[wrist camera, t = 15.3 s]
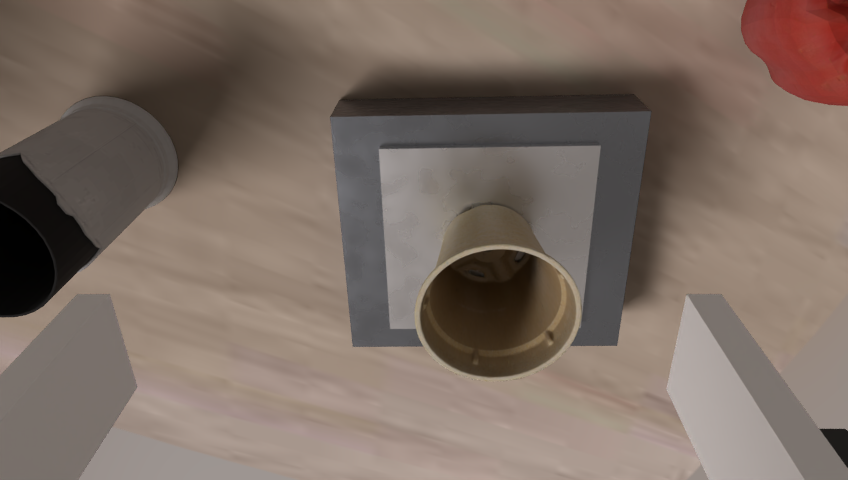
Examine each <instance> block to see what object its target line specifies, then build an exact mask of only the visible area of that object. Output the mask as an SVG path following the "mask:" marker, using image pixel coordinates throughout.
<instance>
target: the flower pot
mask: <svg viewBox="0 0 848 480" xmlns="http://www.w3.org/2000/svg"><path fill="white" fill-rule="evenodd" d="M487 250H488V251H487ZM519 251H522V252H526V253H525V254H524V255H523V257H522V259H521V260H520V261H519V262H517V261H515V258H516V256H517V253H518V252H519ZM469 270H474V271H477V270H479V271H478V272H481V273H483V274H484V276H483V277H482V276H477V275H473V274H471V273H470V272H469ZM581 318H582V302H581V297H580V293H579V290H578V288H577V285H576V283H575V281H574V280H573V278H572V276H571V275H570V274H569V272H568V271H567V270H566V269H565V268H564V267H563V266H562V265H561V264H560V263H559V262H558V261H556V260H555V259H554V258H552V257H551V256H549V255H548V254H546V253H545V252H544V250H543V248H542V247H541V245H540V243H539V242H538V240H537V239H536V237H535V235H534V233H533V231H532V229H531V227H530V225H529V224H528V223H527V221H526V220H525V219H524V218H523V217H522V216H521V215H520V214H518V213H517V212H515V211H513V210H511V209H509V208H507V207H504V206H499V205H480V206H477V207H475V208H473V209H470V210H468V211H466V212H464V213H462V214H460V215H458V216H457V217H456V218H455V219H454V220H453V221H452V222H451V223H450V225H449V226H448V228H447V230H446V232H445V234H444V237H443V242H442V246H441V250H440V254H439V257H438V261H437V264H436V267H435V269H434V270H433V271H432V272H431V273H430V274H429V275H428V277H427V278H426V279H425V281H424V283H423V284H422V286H421V289H420V291H419V293H418V296H417V299H416V305H415V326H416V330H417V334H418V336H419V339H420V341H421V343H422V345H423V346H424V348H425V349H426V351H427V352H428V353H429V354H430V356H431V357H432V358H433V359H434V360H435V361H437V362H438V363H439V364H440V365H441V366H443V367H444V368H446V369H447V370H449V371H451V372H453V373H455V374H458V375H460V376H462V377H466V378H470V379H472V380H473V379H474V380H479V381H497V382H498V381H508V380H515V379H519V378H523V377H526V376H530V375H532V374H535V373H537V372H539V371H541V370H542V369H544V368H546V367H548V366H549V365H551V364H552V363H553V362H555V361H556V360H558V359H559V358H560V357H561V356H562V355H563V353H565V352H566V350H567V349H568V348H569V347H570V345H571V344H572V342H573V341H574V339H575V337H576V335H577V332H578V330H579V327H580V323H581Z"/></svg>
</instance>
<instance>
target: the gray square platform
mask: <svg viewBox="0 0 848 480" xmlns="http://www.w3.org/2000/svg"><path fill="white" fill-rule="evenodd" d="M650 117H651V111H650V110H649V109H648V108H647V107H646V106H645V105H644V104H643V103H642V102H641V101H640V100H639V99H638V98H637V97H636V96H635V95H634V94H630V95H576V96H523V97H469V98H415V99H361V100H339V102H338V104H337V105H336V107H335V109H334V111H333V113H332V115H331V116H330V120H331V130H332V140H333V150H334V160H335V171H336V181H337V191H338V201H339V211H340V221H341V232H342V242H343V252H344V262H345V272H346V282H347V292H348V303H349V313H350V323H351V333H352V343H353V347H388V346H423V345H422V343H421V341H420V339H419V336H418V334H417V330H416V326H415V305H416V299H417V296H418V293H419V291H420V289H421V286H422V284H423V283H424V281H425V279H426V278H427V277H428V275H429V274H430V273H431V272H432V271H433V270H434V269H435V267H436V264H437V261H438V257H439V254H440V250H441V246H442V242H443V237H444V234H445V232H446V230H447V228H448V226H449V225H450V223H451V222H452V221H453V220H454V219H455V218H456V217H457V216H458V215H460V214H462V213H464V212H466V211H468V210H470V209H473V208H475V207H477V206H480V205H499V206H504V207H507V208H509V209H511V210H513V211H515V212H517V213H518V214H520V215H521V216H522V217H523V218H524V219H525V220H526V221H527V223H528V224H529V225H530V227H531V229H532V231H533V233H534V235H535V237H536V239H537V240H538V242H539V243H540V245H541V247H542V248H543V250H544V252H545V253H546V254H548V255H549V256H551V257H552V258H554V259H555V260H556V261H558V262H559V263H560V264H561V265H562V266H563V267H564V268H565V269H566V270H567V271H568V272H569V274H570V275H571V276H572V278H573V280H574V281H575V283H576V285H577V288H578V290H579V293H580V297H581V302H582V318H581V323H580V327H579V330H578V332H577V335H576V337H575V339H574V341H573V342H572V344H571V345H570V346H617V343H618V336H619V329H620V322H621V316H622V309H623V302H624V295H625V288H626V281H627V275H628V268H629V261H630V254H631V247H632V240H633V233H634V227H635V220H636V213H637V206H638V199H639V192H640V186H641V179H642V172H643V165H644V158H645V151H646V145H647V138H648V131H649V124H650ZM487 251H488V250H487ZM525 253H526V252H522V251H519V252H518V253H517V256H516V258H515V261H517V262H519V261H520V260H521V259H522V257H523V255H524V254H525ZM478 271H479V270H477V271H474V270H469V272H470V273H471V274H473V275H477V276H482V277H483V276H484V274H483V273H481V272H478Z"/></svg>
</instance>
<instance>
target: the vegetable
mask: <svg viewBox="0 0 848 480" xmlns="http://www.w3.org/2000/svg"><path fill="white" fill-rule="evenodd" d="M741 31H742V35H743V38H744V41H745V44H746V45H747V46H748V48H749V49H750V50H751V51H752V52H753V53H754V54H756V55H757V56H758V57H760V58H761V59H762V60H763V61H764V62H765V64H766V65H767V67H768V69H769V72H770V75H771V78H772V80H773V81H774V82H775V84H777V85H778V86H780V87H781V88H783V89H784V90H785V91H787V92H789V93H791V94H793V95H795V96H797V97H800V98H802V99H804V100H808V101H812V102H818V103H823V104H828V105H841V106H848V0H747V2H746V5H745V8H744V11H743V14H742V18H741Z"/></svg>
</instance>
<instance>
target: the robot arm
mask: <svg viewBox="0 0 848 480" xmlns="http://www.w3.org/2000/svg"><path fill="white" fill-rule="evenodd" d="M136 388H137V384H136V381H135V377H134V374H133V370H132V367H131V364H130V360H129V357H128V354H127V350H126V347H125V344H124V340H123V337H122V334H121V330H120V327H119V323H118V320H117V317H116V313H115V310H114V307H113V303H112V300H111V297H110V294H77V295H76V296H75V297H74V298H73V299H72V300H71V301H70V302H69V303H68V304H67V305H66V306H65V308H64V309H63V310H62V311H61V312H60V313H59V314H58V315H57V316H56V317H55V318H54V319H53V320H52V321H51V322H50V323H49V324H48V325H47V327H46V328H45V329H44V330H43V331H42V332H41V333H40V334H39V335H38V336H37V337H36V338H35V339H34V340H33V341H32V342H31V343H30V344H29V346H28V347H27V348H26V349H25V350H24V351H23V352H22V353H21V354H20V355H19V356H18V357H17V358H16V359H15V360H14V361H13V362H12V364H11V365H10V366H9V367H8V368H7V369H6V370H5V371H4V372H3V373H2V374H1V375H0V480H78V479H79V478H80V476H81V475H82V473H83V472H84V470H85V468H86V467H87V465H88V463H89V462H90V461H91V459H92V457H93V456H94V454H95V453H96V451H97V450H98V448H99V446H100V445H101V443H102V442H103V440H104V438H105V437H106V435H107V434H108V432H109V431H110V429H111V428H112V426H113V424H114V423H115V421H116V420H117V418H118V417H119V415H120V413H121V412H122V410H123V409H124V407H125V406H126V404H127V402H128V401H129V399H130V398H131V396H132V395H133V393H134V391H135V390H136ZM667 391H668V394H669V396H670V398H671V400H672V402H673V404H674V406H675V409H676V411H677V413H678V415H679V417H680V419H681V421H682V424H683V426H684V428H685V430H686V432H687V434H688V436H689V438H690V441H691V443H692V445H693V447H694V449H695V451H696V453H697V456H698V458H699V460H700V462H701V464H702V466H703V468H704V471H705V473H706V475H707V477H708V479H709V480H848V431H847V430H846V429H819V428H818V427H817V426H816V424H815V422H814V421H813V420H812V418H811V417H810V416H809V414H808V413H807V411H806V410H805V409H804V407H803V406H802V405H801V403H800V402H799V400H798V399H797V398H796V396H795V395H794V394H793V392H792V391H791V389H790V388H789V387H788V385H787V384H786V383H785V381H784V380H783V379H782V377H781V376H780V374H779V373H778V371H777V370H776V369H775V367H774V366H773V365H772V363H771V362H770V360H769V359H768V358H767V356H766V355H765V354H764V352H763V351H762V349H761V348H760V347H759V345H758V344H757V343H756V341H755V340H754V338H753V337H752V336H751V334H750V333H749V331H748V330H747V329H746V327H745V326H744V325H743V323H742V322H741V320H740V319H739V318H738V316H737V315H736V314H735V312H734V311H733V309H732V308H731V307H730V305H729V304H728V303H727V301H726V300H725V298H724V297H723V296H722V294H687V295H686V300H685V305H684V309H683V314H682V319H681V323H680V328H679V333H678V337H677V342H676V347H675V352H674V356H673V361H672V366H671V370H670V375H669V380H668V384H667Z"/></svg>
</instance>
